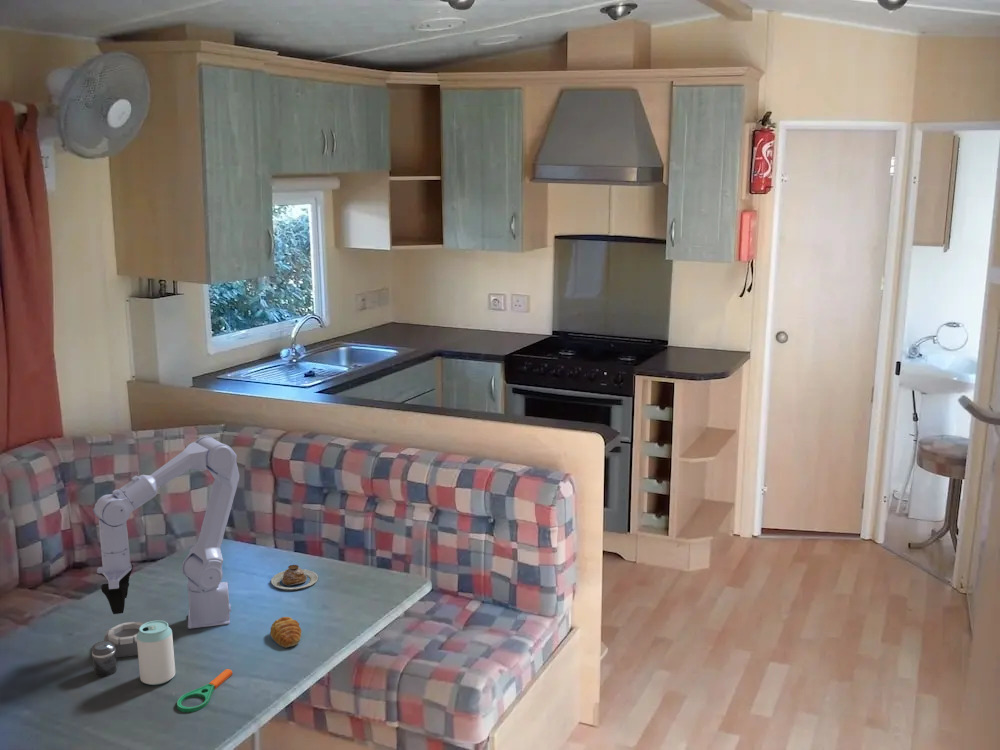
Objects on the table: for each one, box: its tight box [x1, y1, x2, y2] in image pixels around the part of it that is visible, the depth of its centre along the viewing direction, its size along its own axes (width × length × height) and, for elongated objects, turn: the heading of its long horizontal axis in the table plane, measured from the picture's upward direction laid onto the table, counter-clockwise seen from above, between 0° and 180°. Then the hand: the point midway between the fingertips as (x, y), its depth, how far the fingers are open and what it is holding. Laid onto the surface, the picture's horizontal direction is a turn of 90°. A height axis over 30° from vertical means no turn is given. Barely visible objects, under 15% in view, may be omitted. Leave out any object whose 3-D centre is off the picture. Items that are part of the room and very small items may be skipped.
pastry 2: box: [270, 564, 319, 592], centre depth 251 cm, size 12×12×5 cm
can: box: [137, 620, 176, 686], centre depth 204 cm, size 7×7×12 cm
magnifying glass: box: [176, 668, 233, 713], centre depth 200 cm, size 15×6×2 cm, turn 159°
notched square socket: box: [103, 621, 144, 659], centre depth 218 cm, size 10×8×4 cm
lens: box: [91, 640, 118, 678], centre depth 207 cm, size 5×5×6 cm
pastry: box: [269, 616, 302, 648], centre depth 222 cm, size 9×7×4 cm
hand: (120, 605), depth 216 cm, fingers open, 7 cm apart
